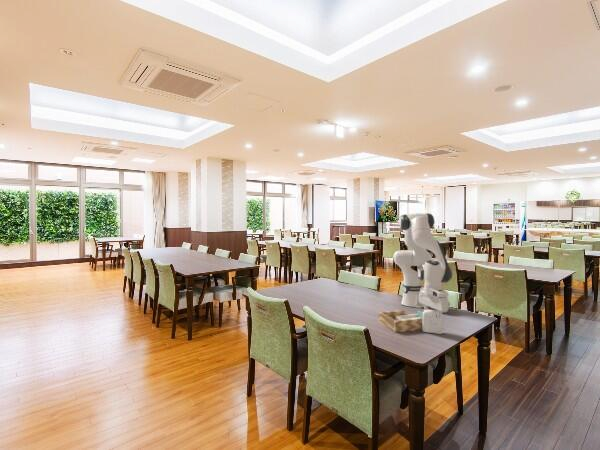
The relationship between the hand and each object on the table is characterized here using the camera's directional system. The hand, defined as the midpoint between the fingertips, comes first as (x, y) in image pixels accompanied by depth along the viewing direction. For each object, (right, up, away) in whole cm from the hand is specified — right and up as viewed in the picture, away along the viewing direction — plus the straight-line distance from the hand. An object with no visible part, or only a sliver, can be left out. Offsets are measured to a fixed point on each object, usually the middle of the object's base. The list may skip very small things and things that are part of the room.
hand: (432, 315), depth 173 cm
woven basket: (-14, -9, +11) cm, 20 cm away
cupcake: (+21, -9, +35) cm, 42 cm away
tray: (-5, -8, +13) cm, 16 cm away
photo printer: (0, -10, 0) cm, 10 cm away
